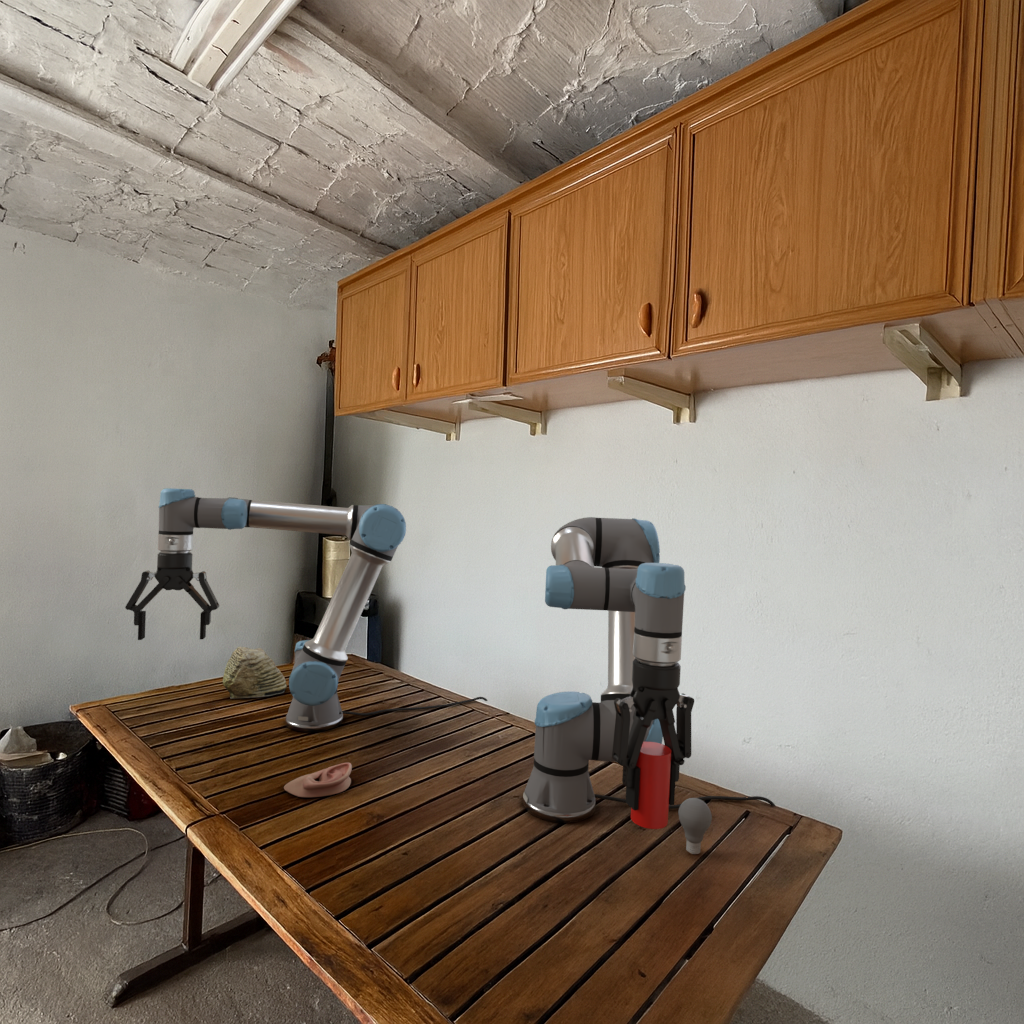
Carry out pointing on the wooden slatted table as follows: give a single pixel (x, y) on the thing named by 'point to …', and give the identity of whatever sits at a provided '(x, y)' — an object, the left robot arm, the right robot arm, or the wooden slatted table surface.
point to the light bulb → (694, 822)
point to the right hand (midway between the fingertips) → (649, 803)
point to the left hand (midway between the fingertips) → (172, 638)
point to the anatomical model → (321, 782)
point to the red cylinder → (653, 786)
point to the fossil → (252, 674)
